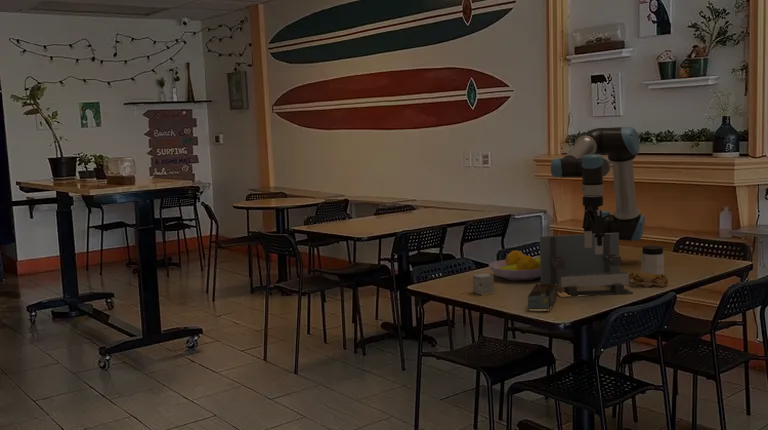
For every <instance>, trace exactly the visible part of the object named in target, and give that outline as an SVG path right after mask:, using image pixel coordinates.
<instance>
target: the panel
mask: <svg viewBox="0 0 768 430" xmlns="http://www.w3.org/2000/svg"><path fill="white" fill-rule="evenodd" d="M594 235H595V234H592V248H585V238H584V233H583V234H567V235H565V234H564V235H563V234H561V235H546V236H543V235H540V236H539V253H540V254H539V257H540V271H541V277H540V284H559V275H572V274H592V273H613V272H620V267H621V266H622V265H621V264H622V263H621V262H622V256H620V240H619V233H605V236H603V254H595V237H594Z"/></svg>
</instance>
